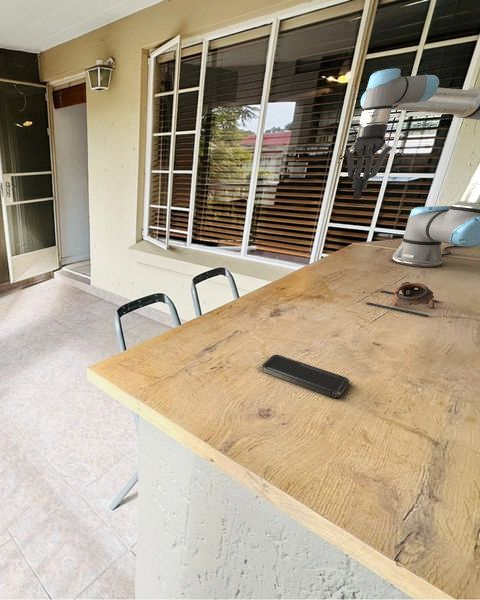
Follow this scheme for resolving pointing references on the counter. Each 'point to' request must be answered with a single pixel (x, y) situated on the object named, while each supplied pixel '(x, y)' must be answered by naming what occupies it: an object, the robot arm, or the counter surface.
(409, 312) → the bay strips
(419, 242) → the robot arm
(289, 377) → the phone
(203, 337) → the counter surface
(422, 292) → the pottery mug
